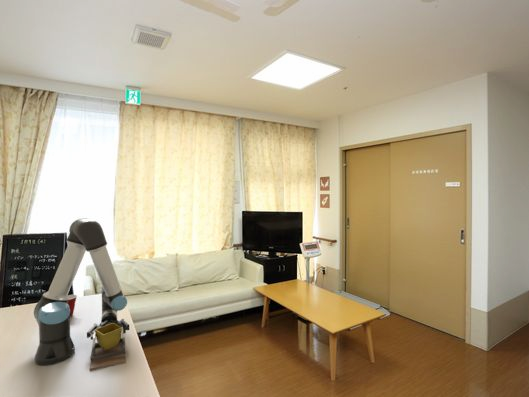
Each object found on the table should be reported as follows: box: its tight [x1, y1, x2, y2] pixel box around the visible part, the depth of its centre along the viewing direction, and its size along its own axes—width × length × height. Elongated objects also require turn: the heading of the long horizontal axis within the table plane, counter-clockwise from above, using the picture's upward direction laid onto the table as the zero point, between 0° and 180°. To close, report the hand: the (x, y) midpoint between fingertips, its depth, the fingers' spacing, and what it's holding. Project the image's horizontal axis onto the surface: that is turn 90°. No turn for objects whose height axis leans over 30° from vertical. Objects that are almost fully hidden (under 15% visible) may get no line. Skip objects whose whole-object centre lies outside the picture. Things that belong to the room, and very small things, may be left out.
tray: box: [89, 336, 127, 372], centre depth 139 cm, size 20×14×2 cm
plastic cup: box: [67, 294, 78, 318], centre depth 180 cm, size 11×11×12 cm
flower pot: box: [95, 323, 122, 350], centre depth 141 cm, size 9×9×9 cm
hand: (108, 338), depth 138 cm, fingers closed on flower pot, 11 cm apart
